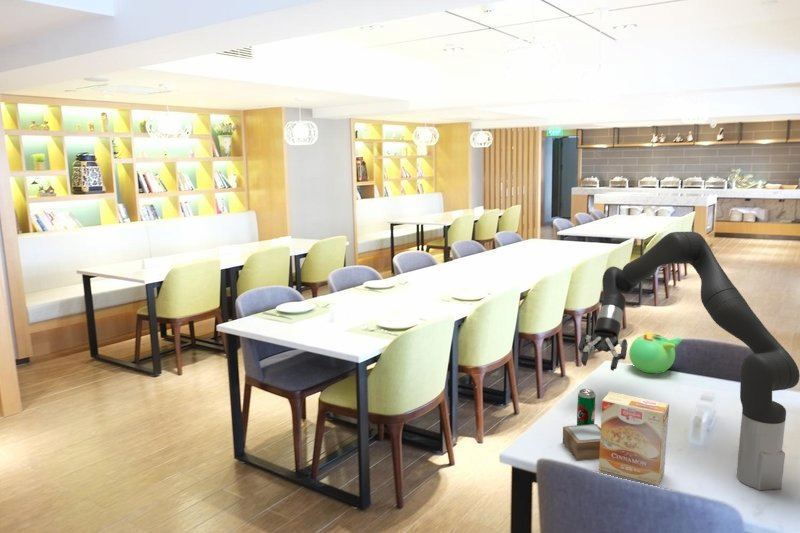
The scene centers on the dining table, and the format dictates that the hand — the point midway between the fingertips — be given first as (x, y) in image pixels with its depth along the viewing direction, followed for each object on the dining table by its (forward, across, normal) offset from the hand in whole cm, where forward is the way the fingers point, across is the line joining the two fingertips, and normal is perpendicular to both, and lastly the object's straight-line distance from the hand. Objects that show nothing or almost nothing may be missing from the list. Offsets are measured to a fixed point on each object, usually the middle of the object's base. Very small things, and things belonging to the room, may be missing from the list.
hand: (597, 367), depth 189 cm
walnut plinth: (+28, +4, -6) cm, 29 cm away
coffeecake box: (+33, +17, -10) cm, 38 cm away
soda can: (+20, 0, +3) cm, 20 cm away
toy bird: (-23, +8, +46) cm, 52 cm away
